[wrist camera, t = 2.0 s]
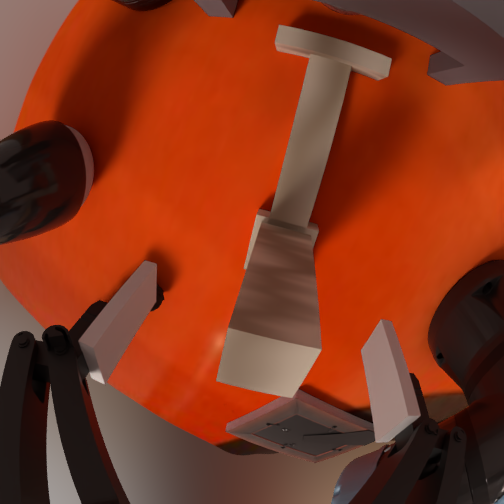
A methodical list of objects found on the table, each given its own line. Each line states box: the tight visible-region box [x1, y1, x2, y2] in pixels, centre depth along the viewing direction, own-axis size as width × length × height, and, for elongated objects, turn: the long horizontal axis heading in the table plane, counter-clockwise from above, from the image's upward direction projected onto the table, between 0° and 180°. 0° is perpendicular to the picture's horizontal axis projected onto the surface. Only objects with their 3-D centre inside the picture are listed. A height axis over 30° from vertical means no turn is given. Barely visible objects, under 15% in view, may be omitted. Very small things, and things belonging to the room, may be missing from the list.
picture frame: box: [225, 389, 375, 463], centre depth 37 cm, size 16×2×22 cm
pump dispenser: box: [0, 120, 94, 245], centre depth 16 cm, size 10×10×15 cm
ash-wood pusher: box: [216, 25, 392, 398], centre depth 14 cm, size 8×20×14 cm, turn 168°
